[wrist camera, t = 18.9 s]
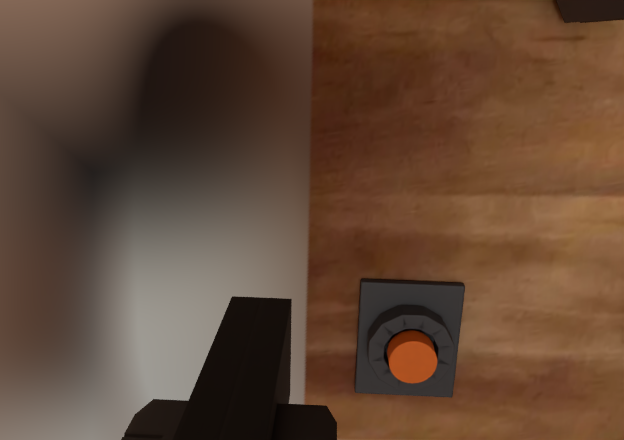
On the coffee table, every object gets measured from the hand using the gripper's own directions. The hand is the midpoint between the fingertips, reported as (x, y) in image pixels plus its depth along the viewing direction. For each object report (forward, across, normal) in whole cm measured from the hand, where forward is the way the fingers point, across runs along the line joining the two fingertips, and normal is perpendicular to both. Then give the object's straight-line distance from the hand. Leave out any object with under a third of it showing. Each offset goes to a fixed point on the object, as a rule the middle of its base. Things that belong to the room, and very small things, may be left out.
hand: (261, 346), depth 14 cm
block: (+28, +8, -15) cm, 33 cm away
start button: (+26, +8, -15) cm, 31 cm away
